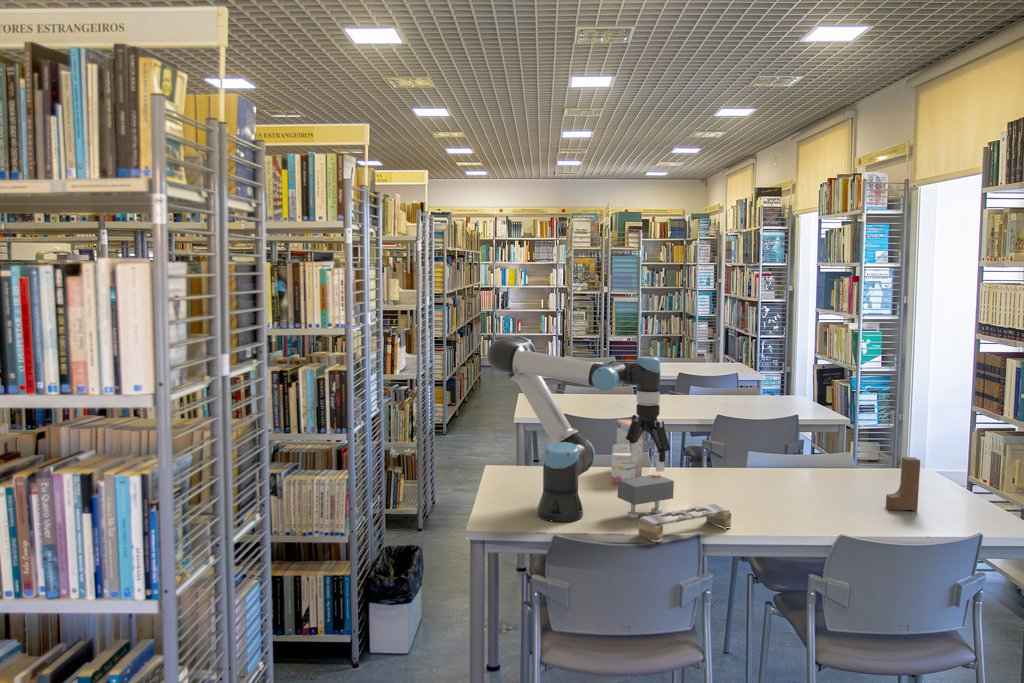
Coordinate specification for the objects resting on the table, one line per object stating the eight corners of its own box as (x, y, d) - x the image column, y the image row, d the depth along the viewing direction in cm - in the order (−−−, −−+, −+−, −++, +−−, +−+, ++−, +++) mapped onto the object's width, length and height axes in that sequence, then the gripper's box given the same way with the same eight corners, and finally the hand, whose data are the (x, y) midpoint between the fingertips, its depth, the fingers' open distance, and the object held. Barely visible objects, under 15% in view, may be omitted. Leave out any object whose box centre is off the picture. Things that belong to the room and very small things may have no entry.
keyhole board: (656, 543, 225) (656, 524, 224) (638, 534, 232) (639, 516, 232) (730, 528, 239) (731, 510, 238) (712, 520, 246) (712, 503, 246)
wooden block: (890, 510, 259) (893, 459, 257) (885, 506, 263) (888, 456, 261) (917, 511, 258) (920, 460, 256) (911, 507, 262) (914, 457, 261)
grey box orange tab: (634, 522, 244) (635, 485, 243) (617, 513, 252) (618, 477, 251) (672, 515, 251) (673, 479, 250) (654, 507, 260) (655, 472, 259)
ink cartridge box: (612, 485, 287) (613, 447, 285) (610, 481, 292) (611, 444, 290) (635, 485, 287) (636, 447, 286) (632, 481, 292) (633, 444, 290)
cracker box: (642, 477, 298) (643, 425, 296) (628, 478, 297) (629, 425, 295) (629, 468, 311) (630, 418, 310) (615, 468, 310) (616, 419, 308)
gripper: (682, 408, 239) (680, 473, 241) (634, 397, 261) (633, 457, 263) (663, 410, 236) (662, 476, 237) (616, 398, 258) (615, 459, 259)
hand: (646, 466), depth 250 cm, fingers open, 13 cm apart
